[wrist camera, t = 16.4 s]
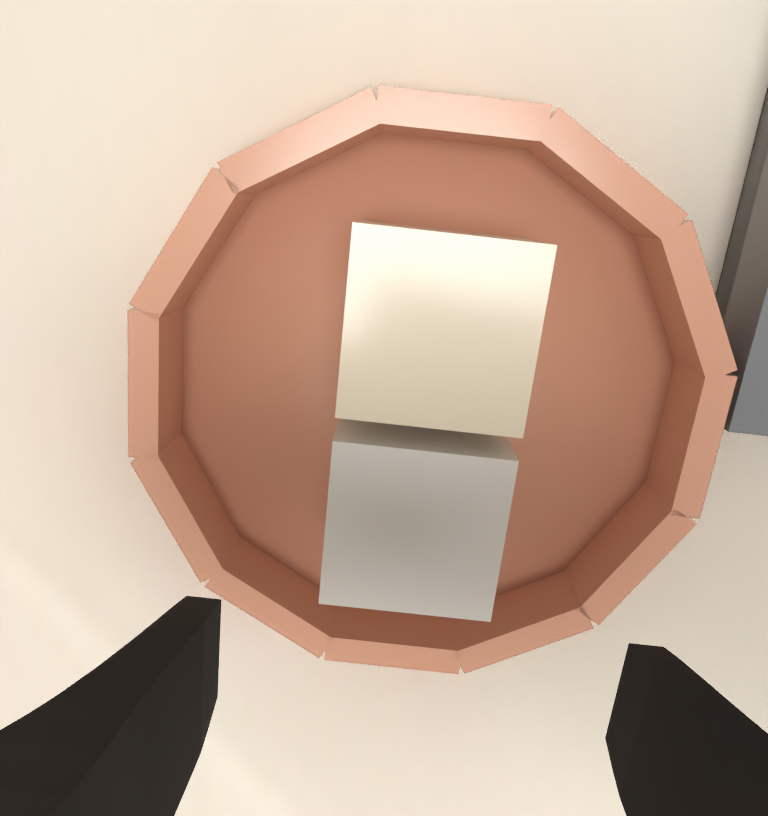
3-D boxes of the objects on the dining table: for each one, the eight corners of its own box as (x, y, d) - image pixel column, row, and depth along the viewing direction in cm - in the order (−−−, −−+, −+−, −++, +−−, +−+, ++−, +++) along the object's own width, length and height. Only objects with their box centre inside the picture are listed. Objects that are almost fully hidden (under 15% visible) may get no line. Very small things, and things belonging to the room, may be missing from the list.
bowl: (746, 143, 18) (803, 132, 15) (624, 640, 22) (652, 694, 20) (164, 79, 18) (126, 57, 15) (160, 590, 22) (129, 639, 20)
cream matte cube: (524, 237, 18) (557, 244, 14) (498, 392, 19) (522, 438, 15) (362, 219, 18) (352, 222, 14) (348, 376, 19) (334, 417, 15)
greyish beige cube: (495, 411, 19) (518, 461, 16) (474, 545, 21) (490, 621, 17) (346, 395, 19) (332, 441, 16) (333, 530, 21) (318, 603, 17)
